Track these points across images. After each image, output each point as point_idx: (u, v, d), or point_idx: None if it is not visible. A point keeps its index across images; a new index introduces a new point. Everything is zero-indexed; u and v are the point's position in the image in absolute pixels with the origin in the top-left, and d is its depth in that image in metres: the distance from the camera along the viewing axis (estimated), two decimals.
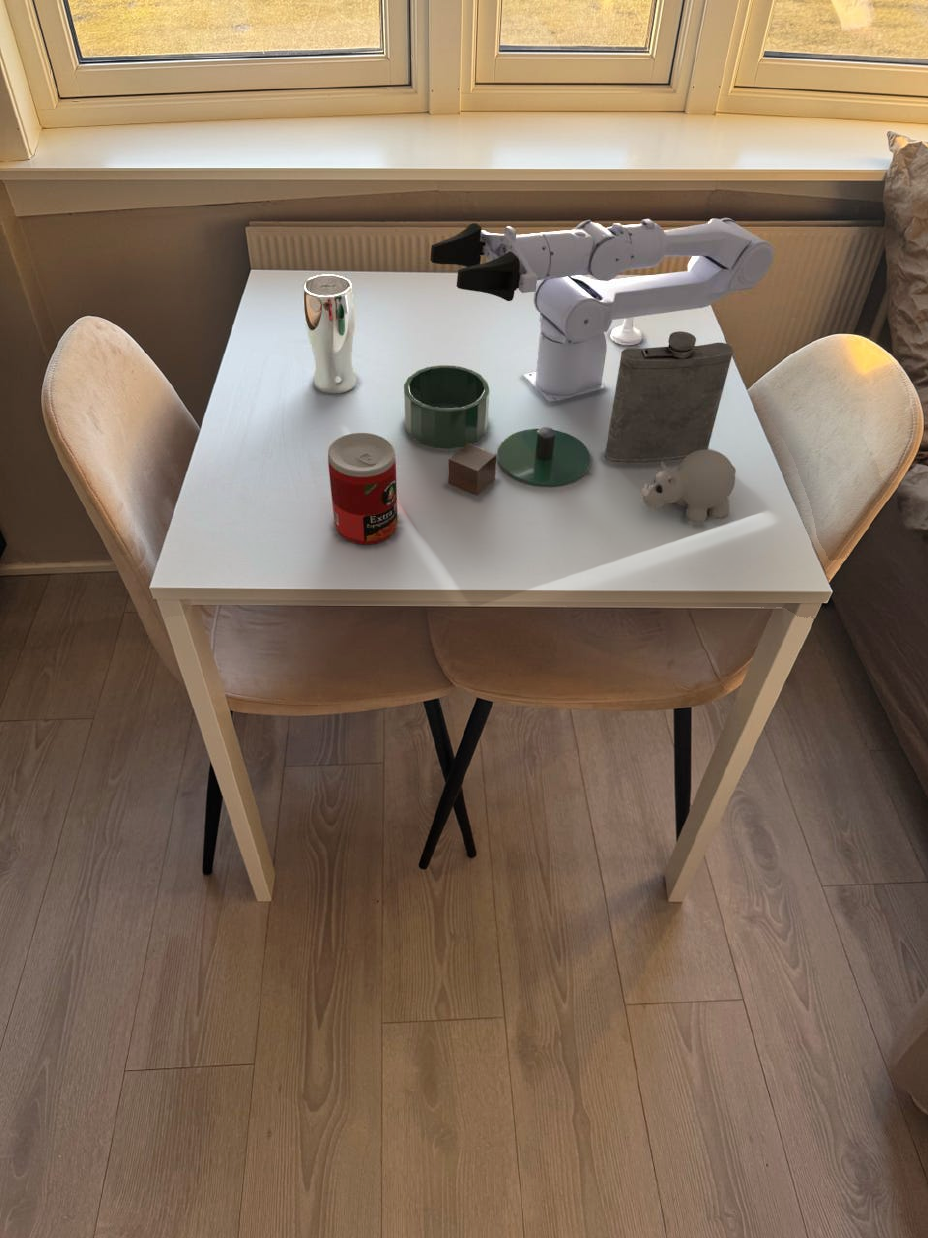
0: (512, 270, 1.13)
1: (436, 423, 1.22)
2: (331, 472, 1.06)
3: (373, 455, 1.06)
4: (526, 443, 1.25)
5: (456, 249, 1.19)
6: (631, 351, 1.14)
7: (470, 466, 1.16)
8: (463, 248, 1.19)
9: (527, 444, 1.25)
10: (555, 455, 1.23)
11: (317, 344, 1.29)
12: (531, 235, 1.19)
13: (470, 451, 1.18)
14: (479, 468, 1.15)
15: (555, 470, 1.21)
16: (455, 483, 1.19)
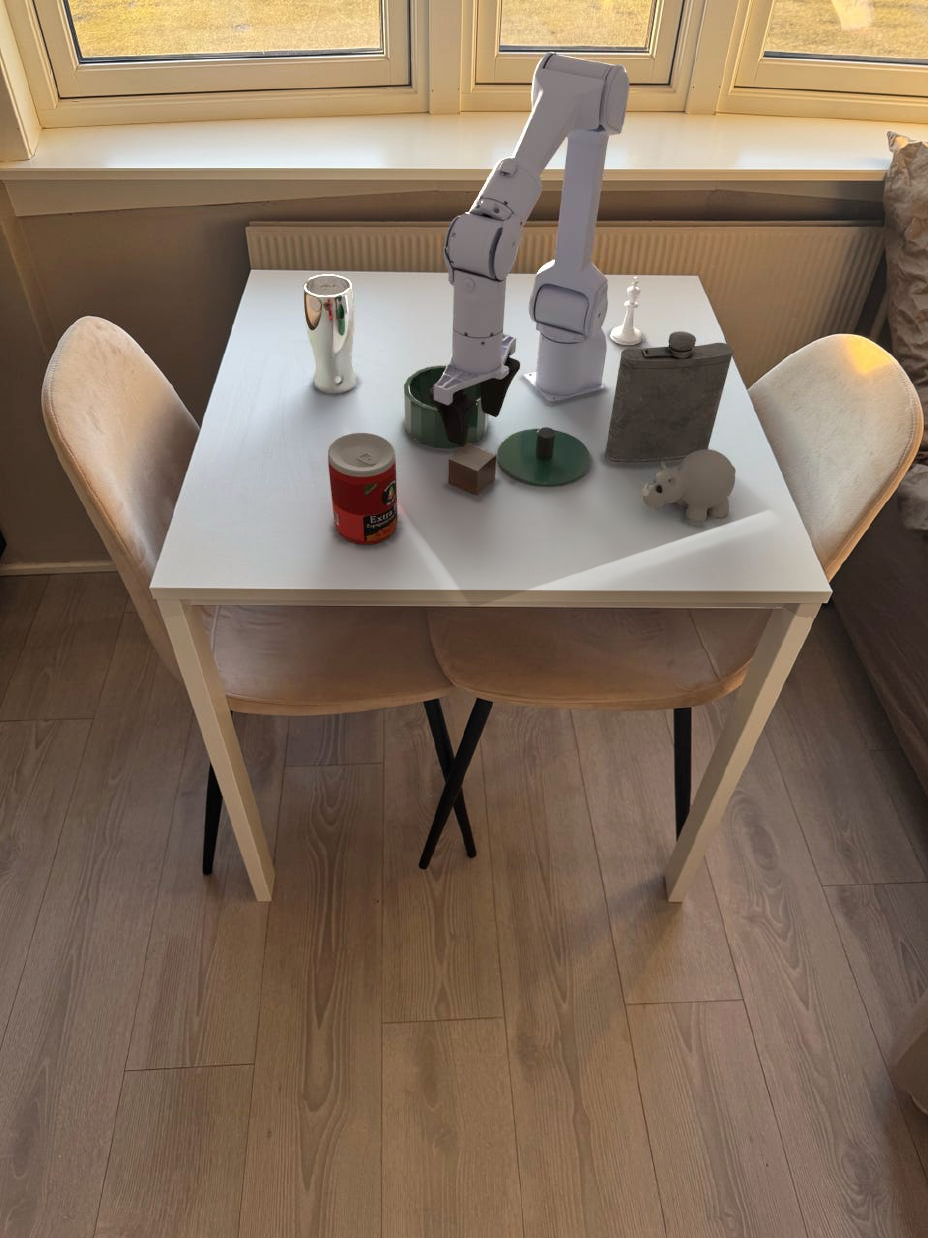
0: None
1: (436, 423, 1.22)
2: (331, 472, 1.06)
3: (373, 455, 1.06)
4: (526, 443, 1.25)
5: None
6: (631, 351, 1.14)
7: (470, 466, 1.16)
8: None
9: (527, 444, 1.25)
10: (555, 455, 1.23)
11: (317, 344, 1.29)
12: (497, 345, 1.04)
13: (470, 451, 1.18)
14: (479, 468, 1.15)
15: (555, 470, 1.21)
16: (455, 483, 1.19)
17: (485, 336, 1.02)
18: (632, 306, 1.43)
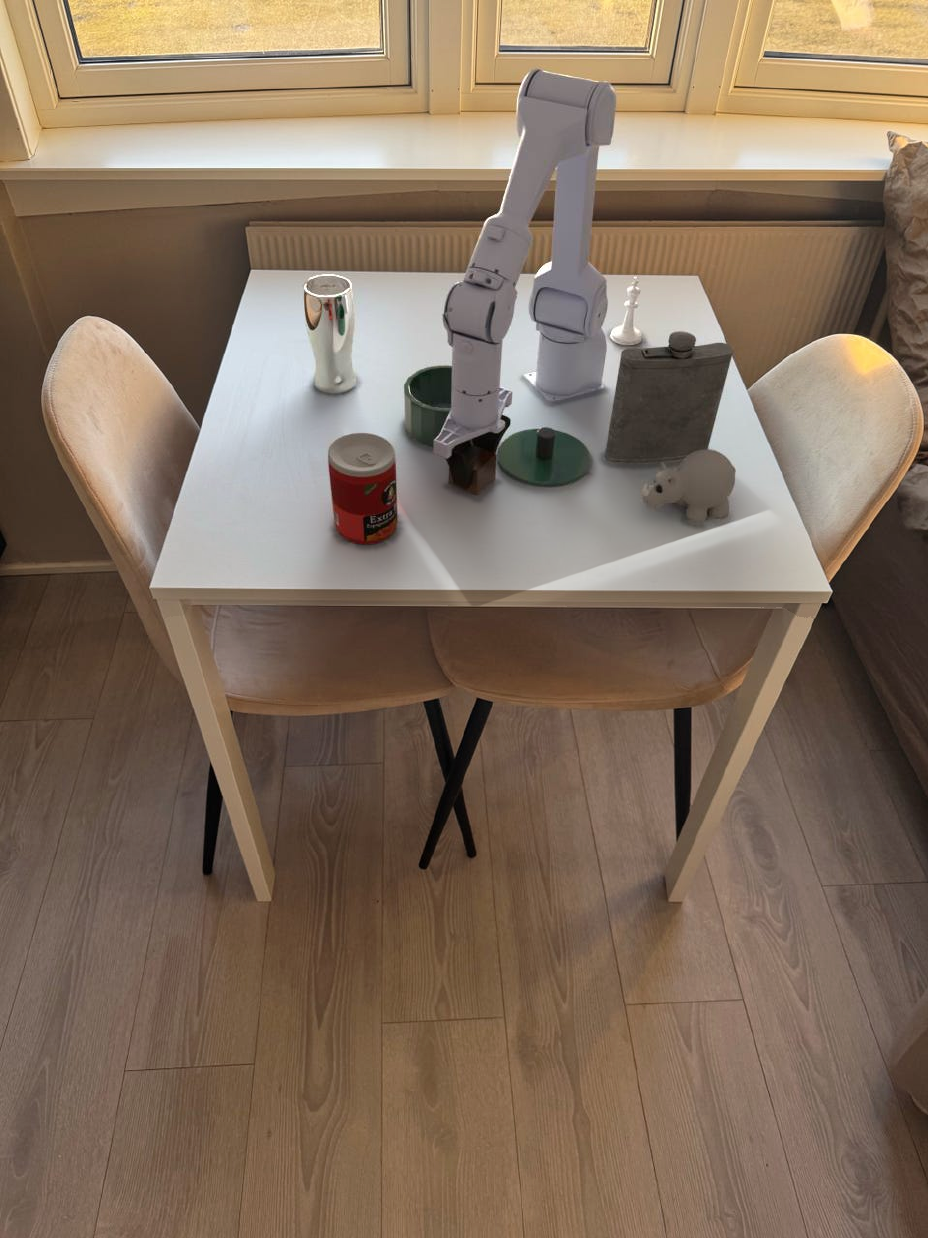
0: None
1: (436, 423, 1.22)
2: (331, 472, 1.06)
3: (373, 455, 1.06)
4: (526, 443, 1.25)
5: None
6: (631, 351, 1.14)
7: None
8: None
9: (527, 444, 1.25)
10: (555, 455, 1.23)
11: (317, 344, 1.29)
12: (494, 402, 1.09)
13: None
14: (479, 468, 1.15)
15: (555, 470, 1.21)
16: None
17: (482, 394, 1.07)
18: (632, 306, 1.43)
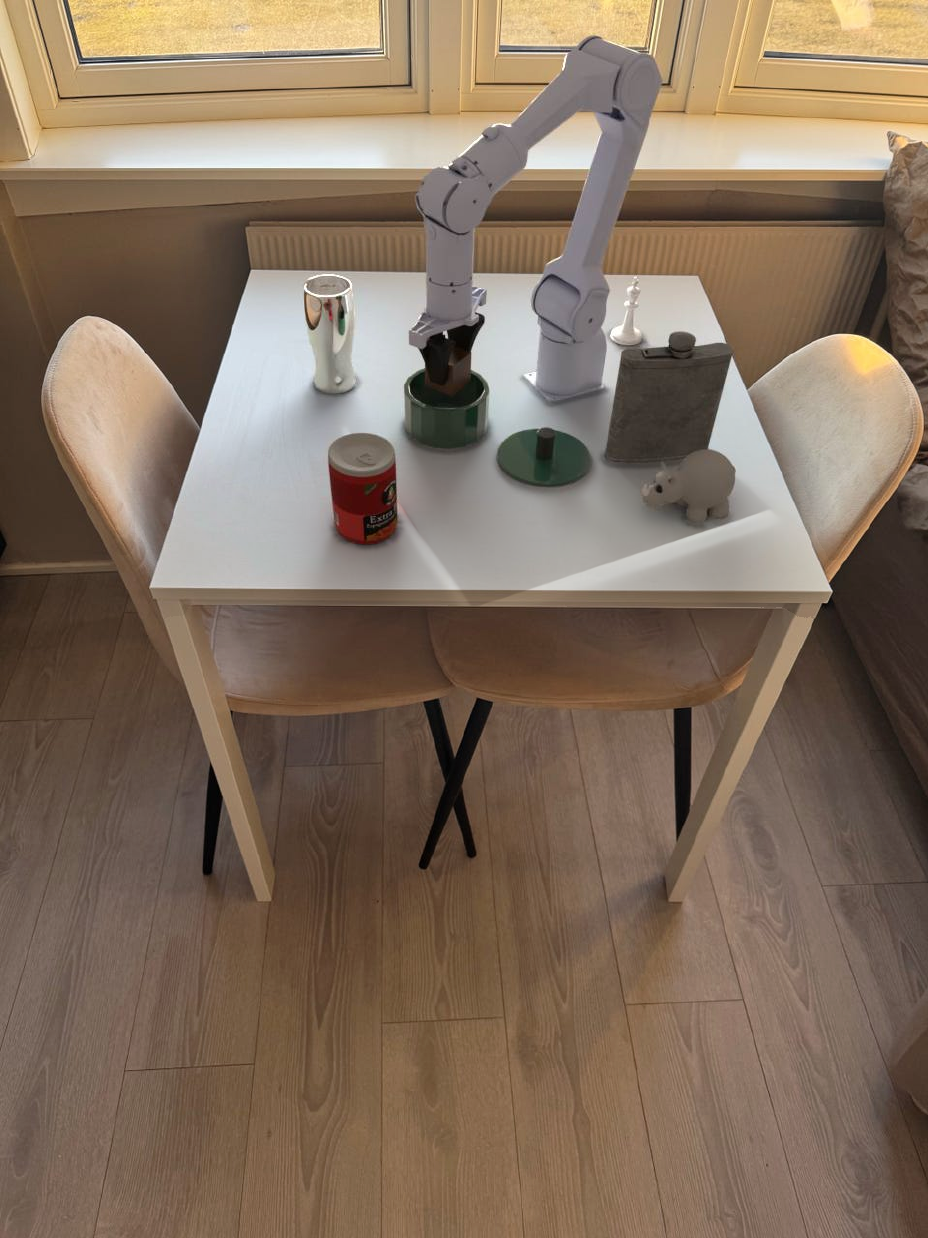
0: None
1: (436, 423, 1.22)
2: (331, 472, 1.06)
3: (373, 455, 1.06)
4: (526, 443, 1.25)
5: None
6: (631, 352, 1.14)
7: None
8: None
9: (527, 444, 1.25)
10: (555, 455, 1.23)
11: (317, 344, 1.29)
12: (467, 293, 1.13)
13: None
14: (454, 363, 1.19)
15: (555, 470, 1.21)
16: None
17: (455, 284, 1.11)
18: (632, 306, 1.43)
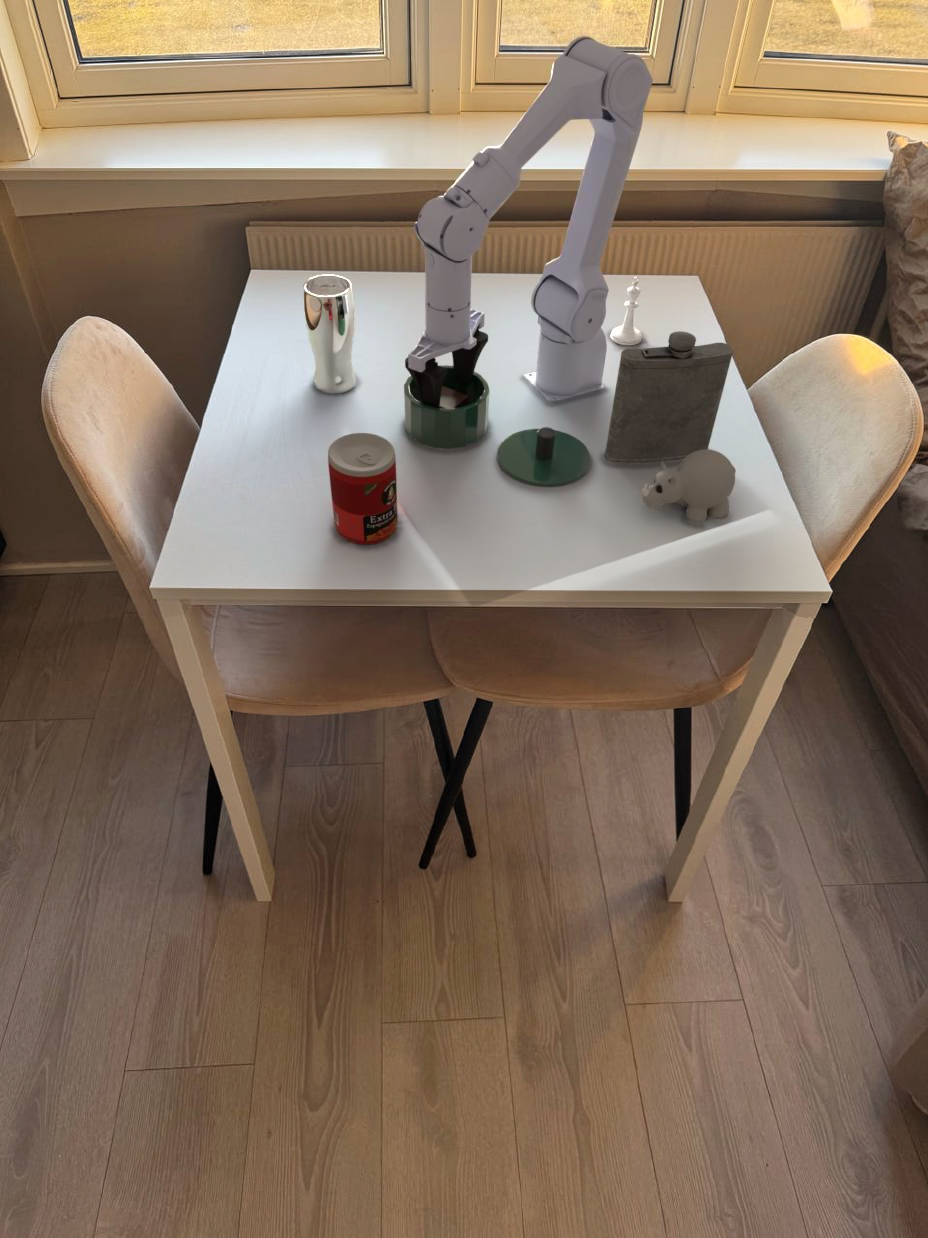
0: None
1: (436, 423, 1.22)
2: (331, 472, 1.06)
3: (373, 455, 1.06)
4: (526, 443, 1.25)
5: None
6: (631, 352, 1.14)
7: (443, 406, 1.24)
8: None
9: (527, 444, 1.25)
10: (555, 455, 1.23)
11: (317, 344, 1.29)
12: (465, 318, 1.16)
13: (444, 393, 1.26)
14: (452, 407, 1.24)
15: (555, 470, 1.21)
16: None
17: (454, 309, 1.14)
18: (632, 306, 1.43)
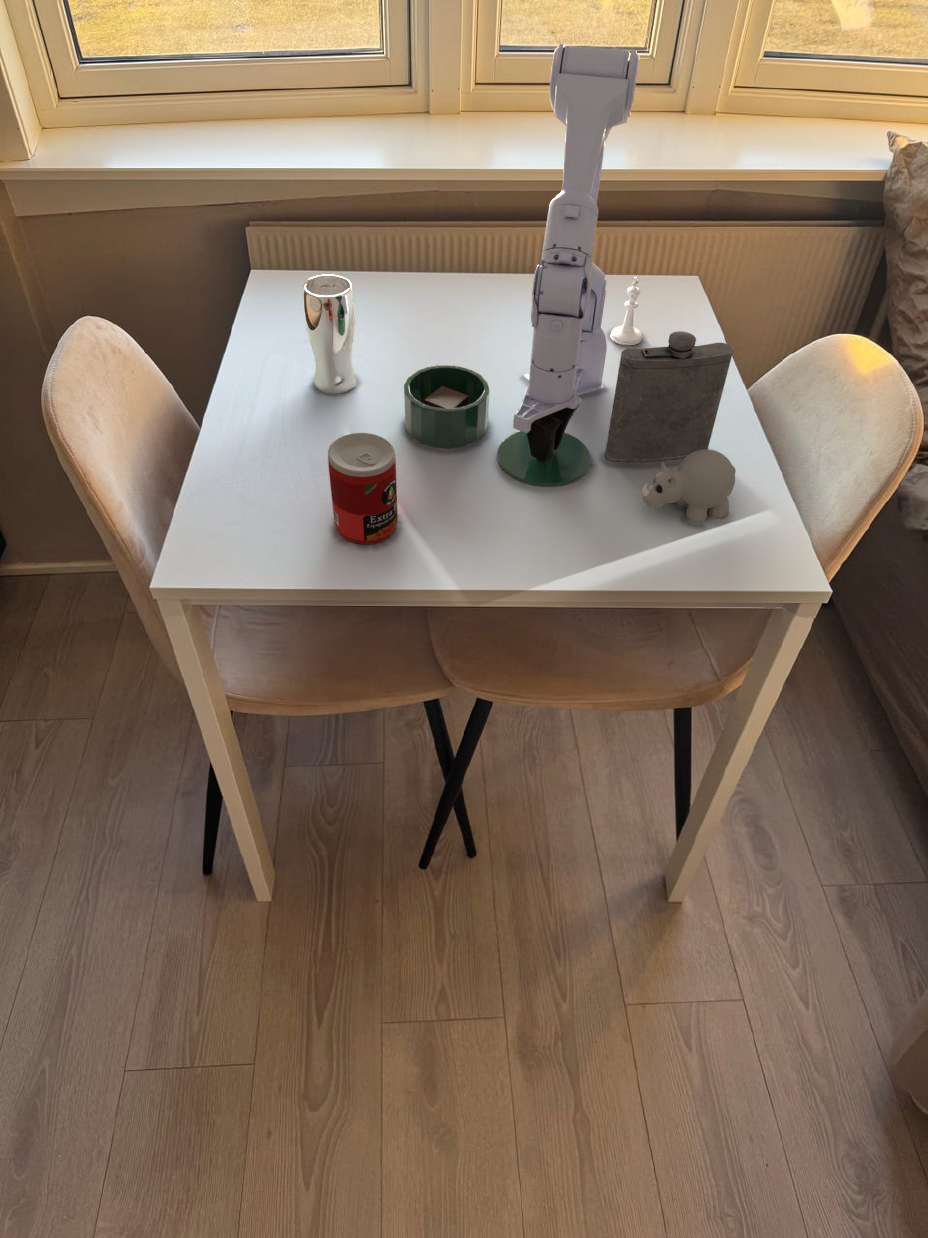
0: None
1: (436, 423, 1.22)
2: (331, 472, 1.06)
3: (373, 455, 1.06)
4: (526, 443, 1.25)
5: None
6: (631, 351, 1.14)
7: (443, 406, 1.24)
8: None
9: (527, 444, 1.25)
10: (555, 455, 1.23)
11: (317, 344, 1.29)
12: (572, 378, 1.13)
13: (444, 393, 1.26)
14: (452, 407, 1.24)
15: (555, 470, 1.21)
16: None
17: (562, 370, 1.11)
18: (632, 306, 1.43)
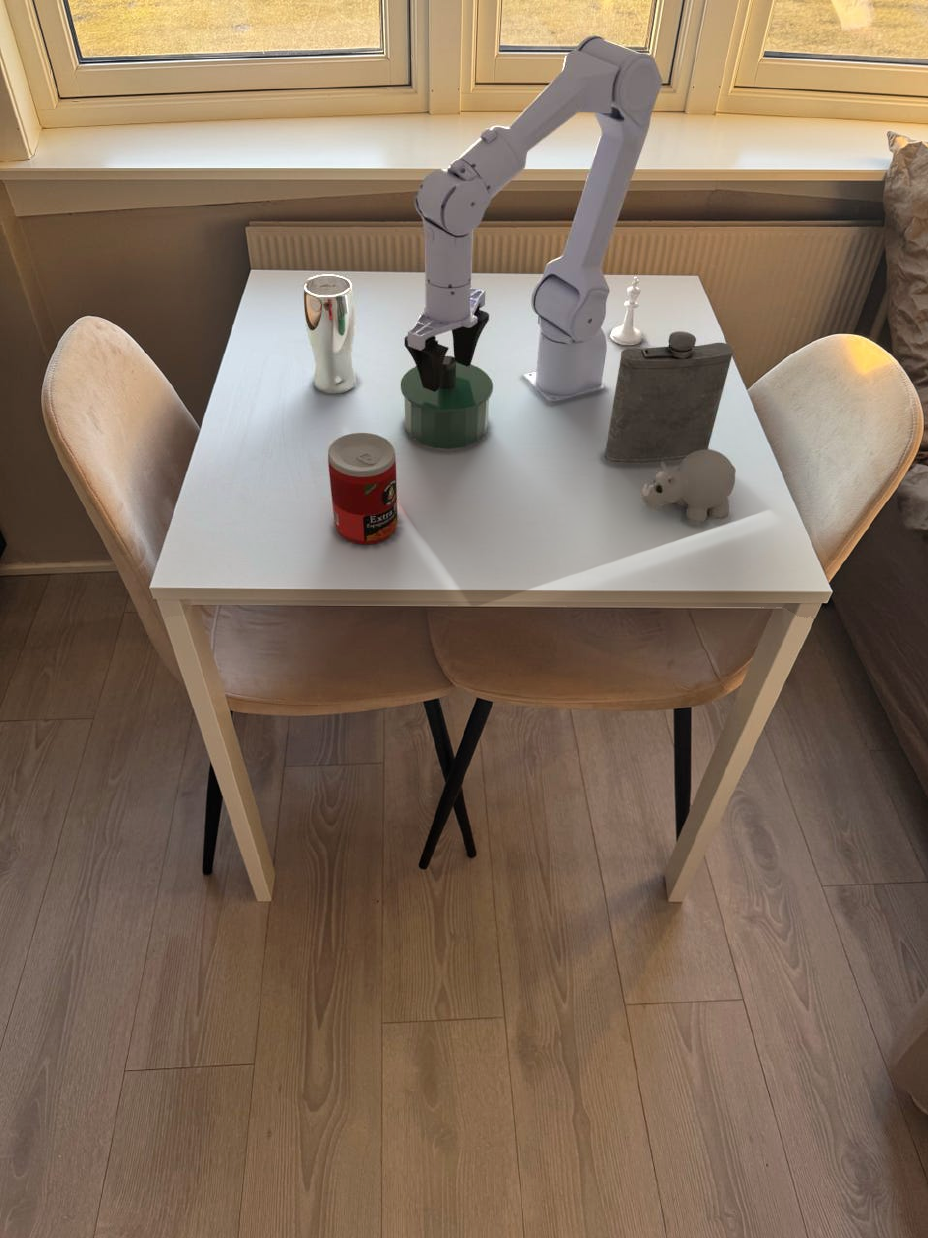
0: None
1: (436, 423, 1.22)
2: (331, 472, 1.06)
3: (373, 455, 1.06)
4: None
5: None
6: (631, 351, 1.14)
7: None
8: None
9: None
10: (458, 384, 1.24)
11: (317, 344, 1.29)
12: (466, 295, 1.13)
13: None
14: None
15: (456, 397, 1.22)
16: None
17: (454, 286, 1.11)
18: (632, 306, 1.43)
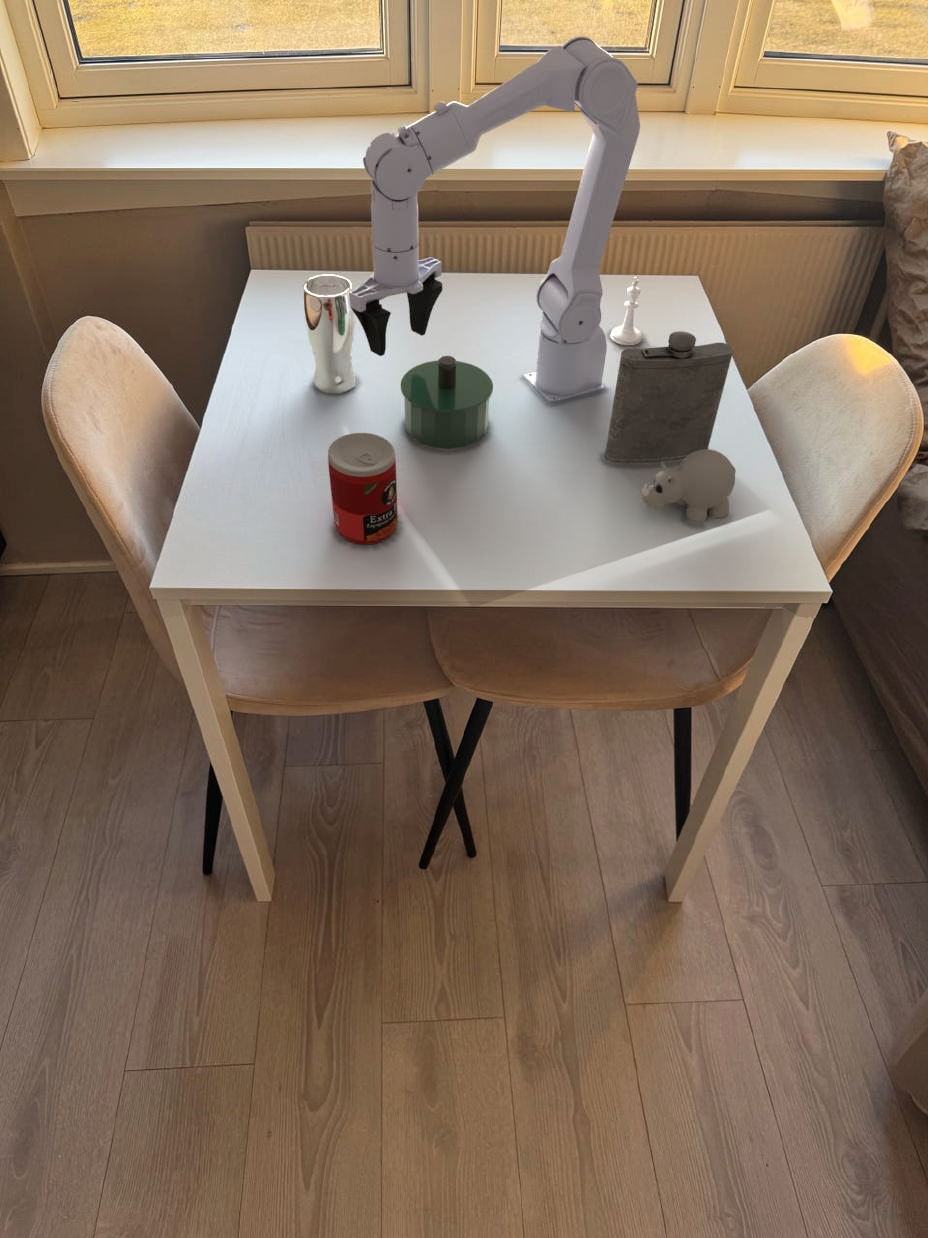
0: None
1: (436, 423, 1.22)
2: (331, 472, 1.06)
3: (373, 455, 1.06)
4: (430, 373, 1.26)
5: None
6: (631, 351, 1.14)
7: None
8: None
9: (431, 374, 1.26)
10: (458, 384, 1.24)
11: (317, 344, 1.29)
12: (410, 261, 1.15)
13: None
14: None
15: (456, 397, 1.22)
16: None
17: (397, 251, 1.13)
18: (632, 306, 1.43)
